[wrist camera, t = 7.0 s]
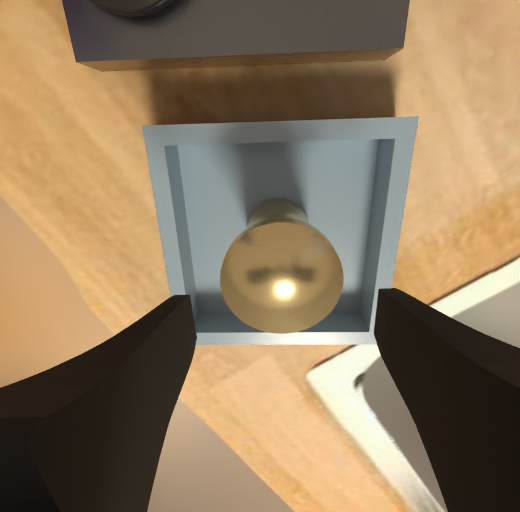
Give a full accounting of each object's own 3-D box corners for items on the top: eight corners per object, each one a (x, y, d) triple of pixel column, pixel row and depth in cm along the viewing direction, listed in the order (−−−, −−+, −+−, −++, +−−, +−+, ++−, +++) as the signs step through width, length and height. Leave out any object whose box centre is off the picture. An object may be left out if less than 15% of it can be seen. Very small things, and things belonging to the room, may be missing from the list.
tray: (395, 118, 18) (418, 116, 15) (368, 318, 23) (382, 344, 20) (161, 126, 18) (142, 125, 15) (189, 319, 24) (178, 344, 21)
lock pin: (318, 186, 19) (347, 220, 11) (317, 262, 21) (340, 332, 13) (236, 190, 19) (213, 226, 12) (242, 265, 21) (226, 334, 14)
